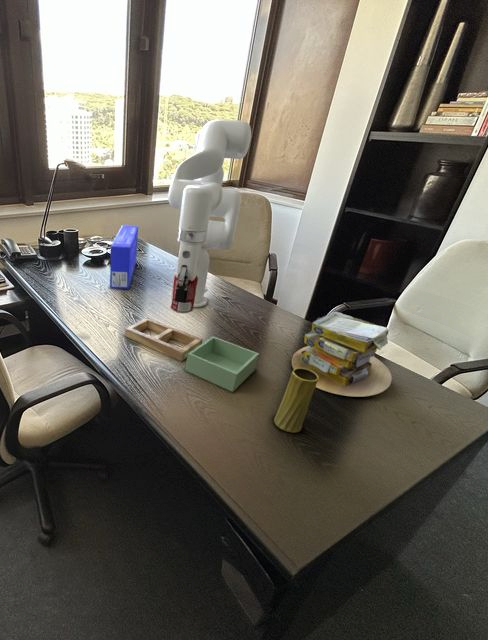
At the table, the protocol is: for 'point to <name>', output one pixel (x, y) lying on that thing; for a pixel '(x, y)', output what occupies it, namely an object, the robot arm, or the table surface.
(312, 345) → the stacked boxes on plate
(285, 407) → the vase
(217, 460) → the table surface
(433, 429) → the table surface
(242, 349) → the bin
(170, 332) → the caddy
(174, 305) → the soda can
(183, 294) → the robot arm
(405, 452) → the table surface
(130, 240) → the blue box
